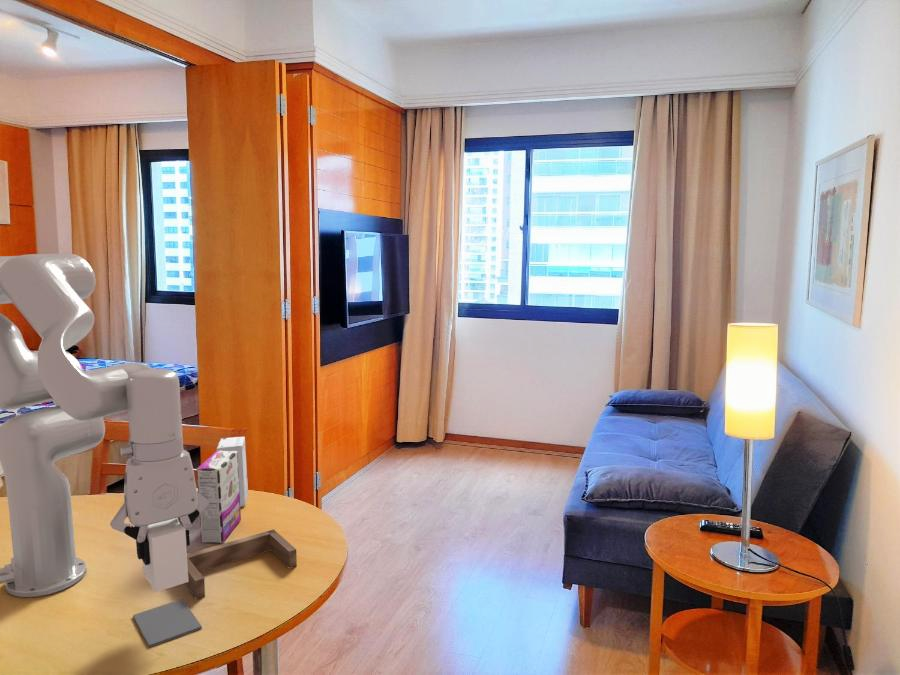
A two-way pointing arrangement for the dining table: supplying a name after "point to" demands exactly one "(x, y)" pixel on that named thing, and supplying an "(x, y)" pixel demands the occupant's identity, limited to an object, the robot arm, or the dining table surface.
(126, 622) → the dining table surface
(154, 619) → the rubber mat
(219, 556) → the frame
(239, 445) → the skincare box
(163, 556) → the white box
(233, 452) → the candy bar box
